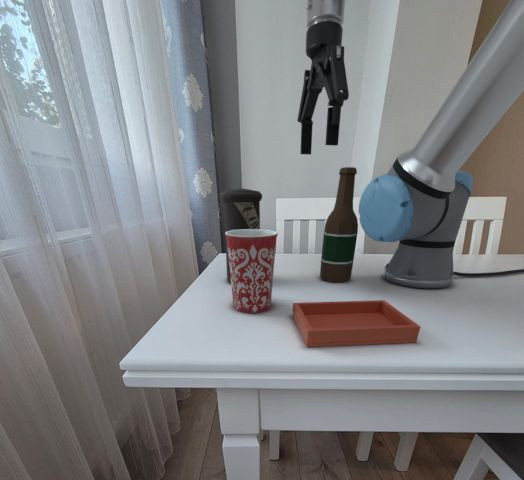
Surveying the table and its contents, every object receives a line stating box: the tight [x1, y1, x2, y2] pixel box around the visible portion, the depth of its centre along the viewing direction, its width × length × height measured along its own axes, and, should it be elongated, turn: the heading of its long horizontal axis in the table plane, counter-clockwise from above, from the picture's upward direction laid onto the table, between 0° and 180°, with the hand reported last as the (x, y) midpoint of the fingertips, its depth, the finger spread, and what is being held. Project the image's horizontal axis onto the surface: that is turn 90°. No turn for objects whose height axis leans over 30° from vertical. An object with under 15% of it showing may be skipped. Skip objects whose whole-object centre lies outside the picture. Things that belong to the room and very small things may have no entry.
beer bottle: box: [319, 166, 359, 284], centre depth 68 cm, size 8×8×24 cm
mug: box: [224, 228, 279, 314], centre depth 55 cm, size 13×9×14 cm
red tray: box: [291, 299, 421, 348], centre depth 47 cm, size 17×12×3 cm
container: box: [219, 188, 263, 284], centre depth 68 cm, size 9×9×20 cm
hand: (317, 150), depth 71 cm, fingers open, 13 cm apart
